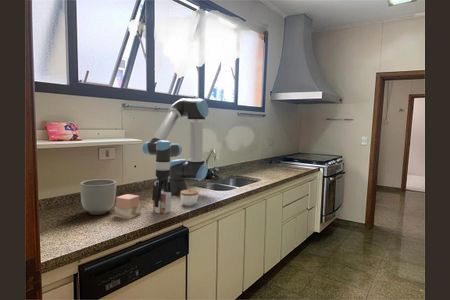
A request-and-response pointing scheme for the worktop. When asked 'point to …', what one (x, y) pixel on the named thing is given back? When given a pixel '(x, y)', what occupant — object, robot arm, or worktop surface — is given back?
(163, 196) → the small box
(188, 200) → the lidded jar
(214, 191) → the worktop surface
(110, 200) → the planter
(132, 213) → the clear square container
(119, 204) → the terracotta block
